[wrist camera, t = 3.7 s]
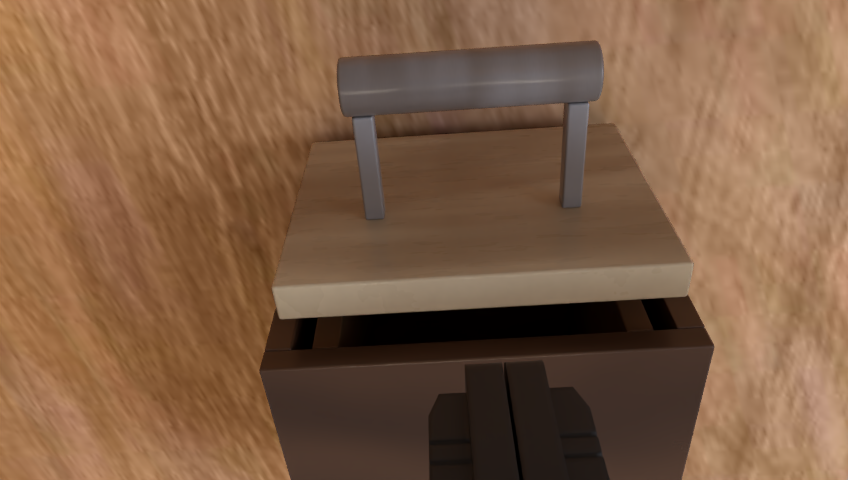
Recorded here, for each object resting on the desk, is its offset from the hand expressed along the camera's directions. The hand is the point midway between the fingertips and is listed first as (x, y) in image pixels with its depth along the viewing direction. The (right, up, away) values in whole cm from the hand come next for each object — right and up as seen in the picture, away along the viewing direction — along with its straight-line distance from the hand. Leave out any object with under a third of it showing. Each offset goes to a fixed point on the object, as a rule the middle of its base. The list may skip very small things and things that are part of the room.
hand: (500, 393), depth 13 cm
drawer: (0, +3, +15) cm, 15 cm away
